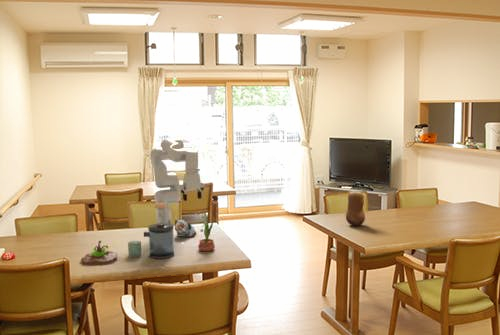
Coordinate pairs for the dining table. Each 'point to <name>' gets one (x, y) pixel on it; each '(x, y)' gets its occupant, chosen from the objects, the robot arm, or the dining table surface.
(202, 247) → the potted flower
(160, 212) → the push button
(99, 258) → the plant
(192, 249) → the dining table surface
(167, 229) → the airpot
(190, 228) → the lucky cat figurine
